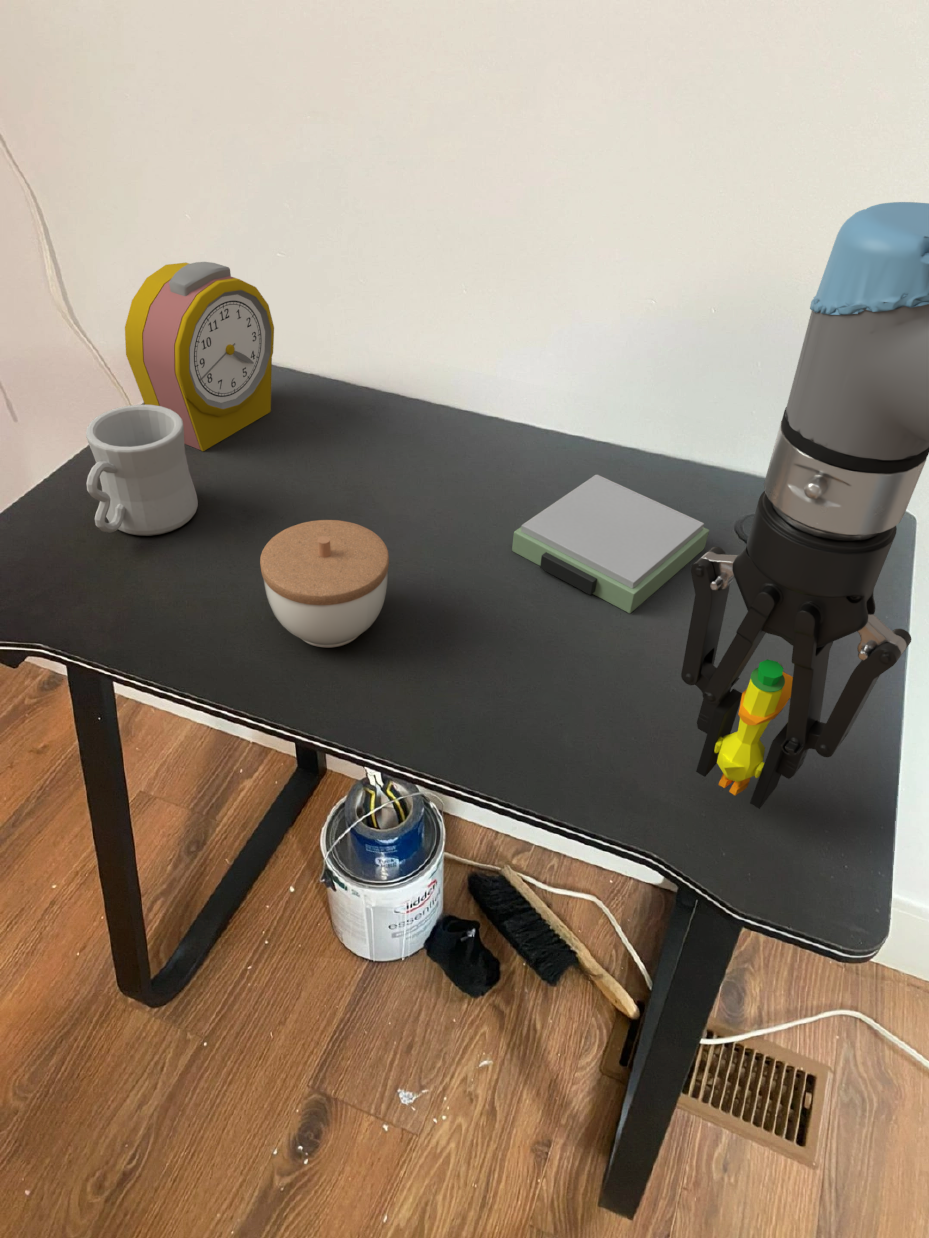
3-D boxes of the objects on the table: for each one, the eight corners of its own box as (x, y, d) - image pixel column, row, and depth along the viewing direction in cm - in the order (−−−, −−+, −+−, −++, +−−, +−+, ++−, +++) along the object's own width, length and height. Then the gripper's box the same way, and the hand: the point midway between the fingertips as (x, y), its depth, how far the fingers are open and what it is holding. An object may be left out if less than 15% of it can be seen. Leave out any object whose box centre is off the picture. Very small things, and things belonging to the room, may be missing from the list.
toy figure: (737, 742, 69) (779, 623, 61) (779, 768, 68) (828, 649, 60) (689, 793, 65) (727, 673, 58) (733, 822, 64) (779, 702, 56)
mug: (142, 481, 98) (123, 395, 92) (216, 500, 96) (202, 414, 89) (65, 544, 89) (39, 455, 83) (146, 567, 87) (125, 477, 81)
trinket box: (335, 572, 88) (331, 489, 82) (414, 625, 83) (415, 541, 76) (243, 623, 82) (231, 537, 76) (322, 684, 76) (315, 598, 70)
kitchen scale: (704, 549, 93) (711, 523, 91) (625, 617, 85) (631, 591, 83) (591, 495, 100) (595, 470, 98) (507, 554, 91) (509, 527, 89)
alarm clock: (196, 460, 102) (168, 297, 90) (143, 437, 105) (109, 277, 93) (284, 407, 112) (270, 254, 100) (233, 389, 115) (213, 238, 103)
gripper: (665, 477, 53) (610, 749, 68) (959, 601, 45) (823, 878, 60) (727, 431, 57) (663, 696, 73) (1005, 536, 49) (868, 809, 65)
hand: (736, 778), depth 66 cm, fingers closed on toy figure, 4 cm apart
